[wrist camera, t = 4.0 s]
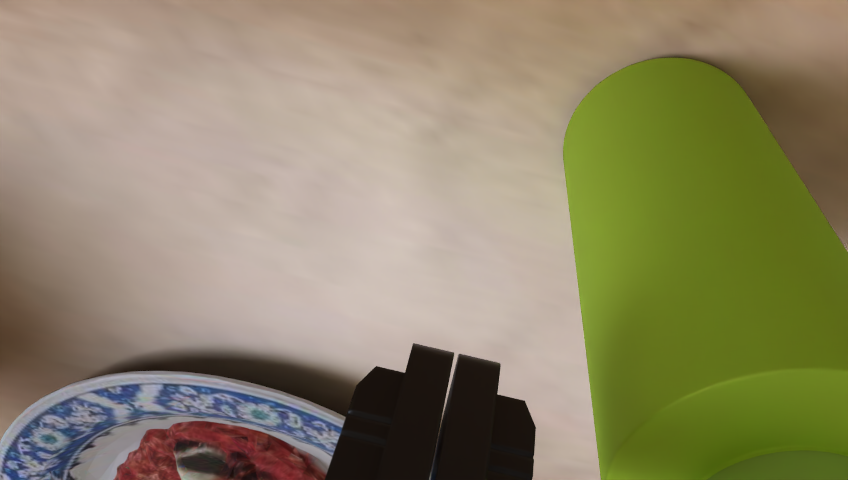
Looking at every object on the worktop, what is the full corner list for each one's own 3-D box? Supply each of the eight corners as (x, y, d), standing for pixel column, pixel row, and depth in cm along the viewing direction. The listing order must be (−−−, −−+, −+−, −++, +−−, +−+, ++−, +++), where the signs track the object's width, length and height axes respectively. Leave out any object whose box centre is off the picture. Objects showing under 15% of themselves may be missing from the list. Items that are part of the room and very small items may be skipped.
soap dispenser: (777, 15, 21) (1713, 1032, 5) (743, 223, 25) (1191, 1187, 8) (564, 28, 22) (720, 939, 5) (562, 227, 26) (651, 1119, 9)
